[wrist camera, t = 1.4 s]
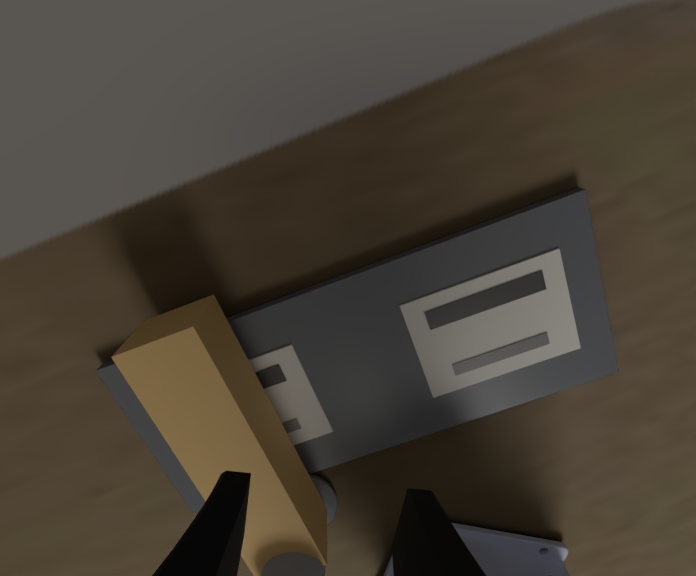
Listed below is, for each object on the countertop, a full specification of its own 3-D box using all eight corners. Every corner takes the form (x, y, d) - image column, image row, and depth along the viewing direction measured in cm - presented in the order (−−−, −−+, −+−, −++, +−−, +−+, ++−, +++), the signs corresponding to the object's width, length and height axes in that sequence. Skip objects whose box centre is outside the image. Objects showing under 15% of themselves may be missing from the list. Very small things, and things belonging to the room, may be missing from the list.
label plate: (577, 187, 19) (587, 190, 18) (623, 428, 23) (632, 438, 22) (102, 363, 21) (94, 372, 20) (229, 554, 25) (226, 567, 24)
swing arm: (337, 520, 24) (338, 607, 20) (280, 538, 24) (270, 628, 20) (216, 289, 19) (184, 340, 15) (147, 316, 19) (97, 372, 15)
